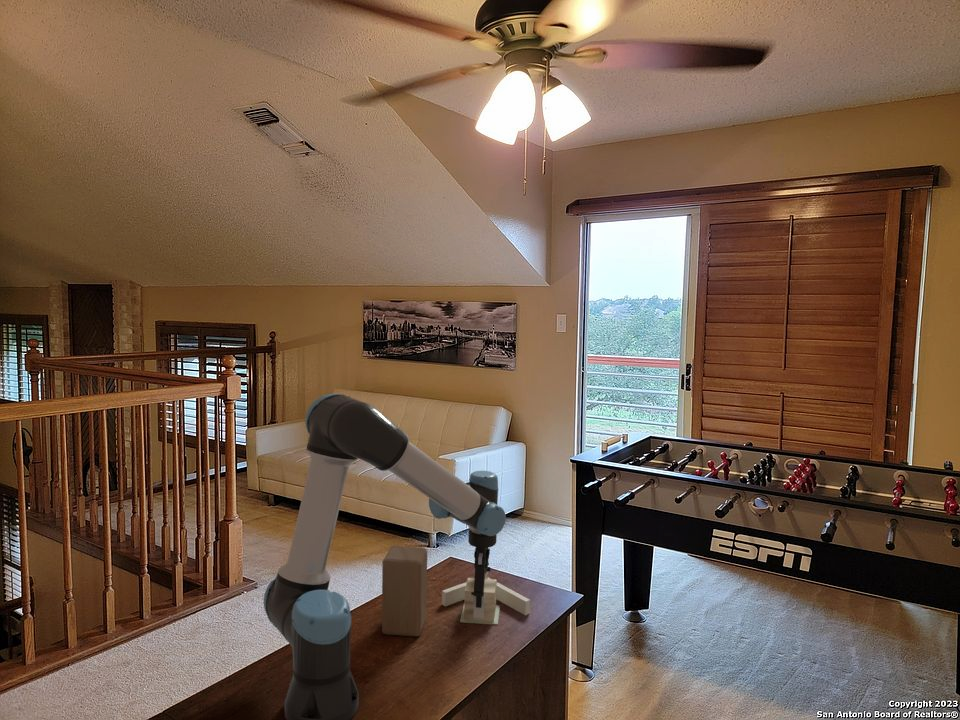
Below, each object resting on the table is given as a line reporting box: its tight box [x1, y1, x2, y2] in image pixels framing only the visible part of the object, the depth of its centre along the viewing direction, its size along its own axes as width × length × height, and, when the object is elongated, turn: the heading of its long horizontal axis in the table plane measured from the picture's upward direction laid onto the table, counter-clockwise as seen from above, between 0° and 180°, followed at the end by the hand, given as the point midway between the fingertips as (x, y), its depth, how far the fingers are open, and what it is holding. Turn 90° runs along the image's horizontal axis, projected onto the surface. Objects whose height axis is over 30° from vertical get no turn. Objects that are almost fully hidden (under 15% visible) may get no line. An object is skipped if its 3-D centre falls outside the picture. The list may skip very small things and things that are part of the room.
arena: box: [441, 576, 531, 626], centre depth 182 cm, size 18×19×4 cm
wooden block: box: [381, 545, 428, 637], centre depth 171 cm, size 10×10×20 cm
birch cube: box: [463, 577, 498, 622], centre depth 180 cm, size 8×8×8 cm
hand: (480, 605), depth 180 cm, fingers open, 12 cm apart
